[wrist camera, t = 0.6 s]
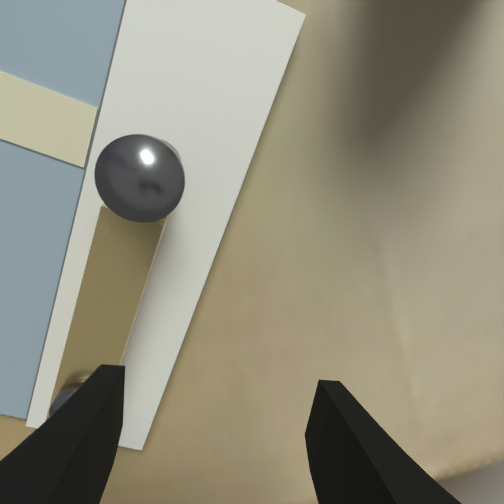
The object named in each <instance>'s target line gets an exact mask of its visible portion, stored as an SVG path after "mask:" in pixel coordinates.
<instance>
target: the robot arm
mask: <svg viewBox="0 0 504 504" xmlns="http://www.w3.org/2000/svg"><path fill="white" fill-rule="evenodd" d="M124 386H125V366H121V365H107V364H101V365H100V366H99V367H97V368H96V369H95V371H94V372H93V373H92V374H91V375H90V376H89V377H88V378H87V379H86V381H85V382H84V383H83V384H82V385H81V386H80V387H79V388H78V389H77V390H76V391H75V392H74V393H73V394H72V395H71V396H70V397H69V398H68V399H67V400H66V401H65V402H64V403H63V404H62V405H61V406H60V407H59V408H58V409H57V410H56V411H55V412H54V413H53V414H52V415H51V416H50V417H49V418H48V419H47V420H46V421H45V422H44V423H43V424H42V425H41V426H40V427H39V428H37V429H36V430H35V431H34V432H33V433H32V434H31V435H30V436H28V437H27V438H26V439H25V440H24V441H23V442H22V443H21V444H19V445H18V446H17V447H16V448H15V449H14V450H13V451H12V452H10V453H9V454H8V455H7V456H6V457H4V458H3V459H2V460H1V461H0V504H99V503H100V500H101V497H102V494H103V492H104V489H105V486H106V483H107V480H108V478H109V475H110V472H111V469H112V466H113V463H114V459H115V455H116V451H117V448H118V443H119V439H120V435H121V431H122V427H123V411H124ZM305 440H306V447H307V454H308V461H309V467H310V472H311V476H312V480H313V484H314V488H315V492H316V495H317V499H318V503H319V504H461V503H460V502H459V501H458V500H456V499H455V498H454V497H453V496H452V495H451V494H450V493H448V492H447V491H446V490H445V489H444V488H442V487H441V486H440V485H439V484H438V483H437V482H436V481H435V480H434V479H433V478H431V477H430V476H429V475H428V474H427V473H426V472H425V471H424V470H423V469H422V468H421V467H420V466H419V465H418V464H417V463H416V462H415V461H414V460H413V459H412V458H411V457H410V456H408V455H407V454H406V453H405V452H404V451H403V450H402V449H401V447H400V446H399V445H398V444H397V443H396V442H395V441H394V440H393V439H392V438H391V437H390V436H389V435H388V434H387V433H386V432H385V431H384V430H383V429H382V428H381V426H380V425H379V424H378V423H377V422H376V421H375V420H374V419H373V418H372V417H371V416H370V414H369V413H368V412H367V411H366V410H365V409H364V408H363V407H362V405H361V404H360V403H359V402H358V401H357V400H356V399H355V398H354V396H353V395H352V394H351V393H350V392H349V391H348V390H347V389H346V388H345V386H344V385H343V384H342V383H341V382H340V381H330V380H319V381H318V385H317V389H316V393H315V397H314V401H313V405H312V408H311V412H310V416H309V420H308V424H307V428H306V432H305Z"/></svg>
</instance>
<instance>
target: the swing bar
mask: <svg viewBox="0 0 504 504" xmlns="http://www.w3.org/2000/svg"><path fill="white" fill-rule="evenodd" d="M168 218H169V214H168V215H167V216H166V217H164V218H162V219H160V220H157V221H153V222H146V223H140V222H133V221H129V220H127V219H124V218H122V217H120V216H118V215H117V214H115V213H114V212H113V211H111V210H110V209H109V208H108V207H107V206H106V205H105V203H104V204H103V205H101V208H100V212H99V216H98V220H97V224H96V228H95V232H94V235H93V239H92V243H91V247H90V251H89V255H88V259H87V263H86V266H85V270H84V274H83V278H82V282H81V286H80V290H79V293H78V297H77V301H76V305H75V309H74V313H73V317H72V321H71V324H70V328H69V332H68V336H67V340H66V344H65V348H64V352H63V355H62V359H61V363H60V367H59V371H58V375H57V379H56V383H55V386H54V390H53V394H52V398H51V402H50V406H49V410H48V413H47V417H46V420H47V419H48V418H49V417H50V416H51V415H52V414H53V413H54V412H55V411H56V410H57V409H58V408H59V407H60V406H61V405H62V404H63V403H64V402H65V401H66V400H67V399H68V398H69V397H70V396H71V395H72V394H73V393H74V392H75V391H76V390H77V389H78V388H79V387H80V386H81V385H82V384H83V383H84V382H85V381H86V379H87V378H88V377H89V376H90V375H91V374H92V373H93V372H94V371H95V369H96V368H97V367H99V366H100V365H101V364H107V365H121V364H122V360H123V357H124V354H125V351H126V348H127V345H128V342H129V339H130V336H131V332H132V329H133V326H134V323H135V320H136V317H137V314H138V311H139V308H140V305H141V301H142V298H143V295H144V292H145V289H146V286H147V283H148V280H149V277H150V273H151V270H152V267H153V264H154V261H155V258H156V255H157V252H158V249H159V245H160V242H161V239H162V236H163V233H164V230H165V227H166V224H167V221H168Z"/></svg>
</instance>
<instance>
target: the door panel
mask: <svg viewBox="0 0 504 504" xmlns="http://www.w3.org/2000/svg"><path fill="white" fill-rule="evenodd" d="M304 18H305V14H303V13H301V12H299V11H297V10H295V9H293V8H291V7H289V6H287V5H284V4H282V3H280V2H278V1H276V0H0V414H4V415H8V416H13V417H18V418H22V419H26V420H25V421H27V422H26V426H28V427H33V428H39V427H40V426H41V425H42V424H43V423H44V422H45V421H46V417H47V413H48V410H49V406H50V402H51V398H52V394H53V390H54V386H55V383H56V379H57V375H58V371H59V367H60V363H61V359H62V355H63V352H64V348H65V344H66V340H67V336H68V332H69V328H70V324H71V321H72V317H73V313H74V309H75V305H76V301H77V297H78V293H79V290H80V286H81V282H82V278H83V274H84V270H85V266H86V263H87V259H88V255H89V251H90V247H91V243H92V239H93V235H94V232H95V228H96V224H97V220H98V216H99V212H100V208H101V205H103V204H104V202H103V201H102V199H101V197H100V195H99V194H98V191H97V188H96V185H95V178H94V171H95V165H96V162H97V159H98V157H99V155H100V153H101V152H102V150H103V149H104V148H105V147H106V146H107V145H108V144H109V143H111V142H112V141H114V140H115V139H118V138H120V137H123V136H126V135H130V134H146V135H150V136H154V137H156V138H158V139H162V140H164V141H167V142H168V143H170V144H171V145H172V146H173V147H174V148H175V149H176V150H177V152H178V153H179V155H180V158H181V163H182V165H183V168H184V172H185V188H184V192H183V195H182V197H181V200H180V202H179V203H178V205H177V206H176V208H175V209H174V210H173V211H172V212H171V213H170V214H169V218H168V221H167V224H166V227H165V230H164V233H163V236H162V239H161V242H160V245H159V249H158V252H157V255H156V258H155V261H154V264H153V267H152V270H151V273H150V277H149V280H148V283H147V286H146V289H145V292H144V295H143V298H142V301H141V305H140V308H139V311H138V314H137V317H136V320H135V323H134V326H133V329H132V332H131V336H130V339H129V342H128V345H127V348H126V351H125V354H124V357H123V360H122V364H121V366H125V386H124V411H123V427H122V431H121V435H120V439H119V443H118V446H123V447H127V448H132V449H137V450H142V448H143V445H144V443H145V440H146V437H147V435H148V432H149V429H150V427H151V424H152V422H153V419H154V416H155V414H156V411H157V408H158V406H159V403H160V400H161V398H162V395H163V392H164V390H165V387H166V384H167V382H168V379H169V376H170V374H171V371H172V368H173V366H174V363H175V360H176V358H177V355H178V353H179V350H180V347H181V345H182V342H183V339H184V337H185V334H186V331H187V329H188V326H189V323H190V321H191V318H192V315H193V313H194V310H195V307H196V305H197V302H198V299H199V297H200V294H201V291H202V289H203V286H204V284H205V281H206V278H207V276H208V273H209V270H210V268H211V265H212V262H213V260H214V257H215V254H216V252H217V249H218V246H219V244H220V241H221V238H222V236H223V233H224V230H225V228H226V225H227V222H228V220H229V217H230V215H231V212H232V209H233V207H234V204H235V201H236V199H237V196H238V193H239V191H240V188H241V185H242V183H243V180H244V177H245V175H246V172H247V169H248V167H249V164H250V161H251V159H252V156H253V153H254V151H255V148H256V145H257V143H258V140H259V138H260V135H261V132H262V130H263V127H264V124H265V122H266V119H267V116H268V114H269V111H270V108H271V106H272V103H273V100H274V98H275V95H276V92H277V90H278V87H279V84H280V82H281V79H282V76H283V74H284V71H285V69H286V66H287V63H288V61H289V58H290V55H291V53H292V50H293V47H294V45H295V42H296V39H297V37H298V34H299V31H300V29H301V26H302V23H303V21H304Z"/></svg>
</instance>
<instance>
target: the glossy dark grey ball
mask: <svg viewBox="0 0 504 504" xmlns="http://www.w3.org/2000/svg"><path fill="white" fill-rule="evenodd" d="M94 178H95V185H96V188H97V191H98V194H99V195H100V197H101V199H102V201H103V202H104V203H105V205H106V206H107V207H108V208H109V209H110V210H111V211H113V212H114V213H115V214H117V215H118V216H120V217H122V218H124V219H127V220H129V221H133V222H140V223H146V222H153V221H157V220H160V219H162V218H164V217H166V216H167V215H168V214H170V213H171V212H172V211H173V210H174V209H175V208H176V206H177V205H178V203H179V202H180V200H181V197H182V195H183V192H184V188H185V172H184V168H183V165H182V163H181V158H180V155H179V153H178V152H177V150H176V149H175V148H174V147H173V146H172V145H171V144H170V143H168V142H167V141H164V140H162V139H158V138H156V137H154V136H150V135H146V134H130V135H126V136H123V137H120V138H118V139H115V140H114V141H112V142H111V143H109V144H108V145H107V146H106V147H105V148H104V149H103V150H102V152H101V153H100V155H99V157H98V159H97V162H96V165H95V171H94Z"/></svg>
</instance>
